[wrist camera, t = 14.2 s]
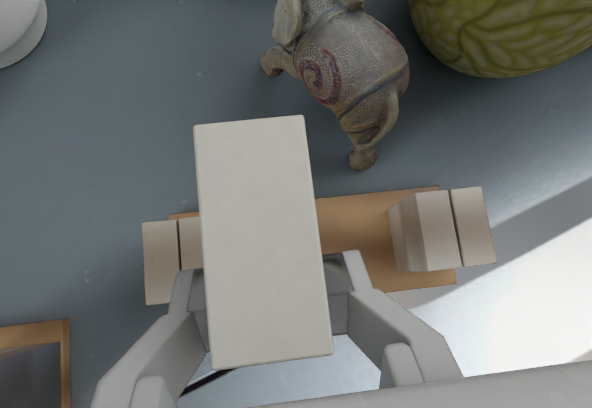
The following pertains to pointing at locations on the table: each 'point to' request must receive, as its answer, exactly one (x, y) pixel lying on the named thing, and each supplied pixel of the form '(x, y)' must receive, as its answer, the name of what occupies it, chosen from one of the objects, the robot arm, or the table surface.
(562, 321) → the table surface
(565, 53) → the decorative sculpture
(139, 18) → the table surface
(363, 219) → the white book rack
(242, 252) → the tall white book
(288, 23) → the figurine
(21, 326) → the grey book rack
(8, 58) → the vase
